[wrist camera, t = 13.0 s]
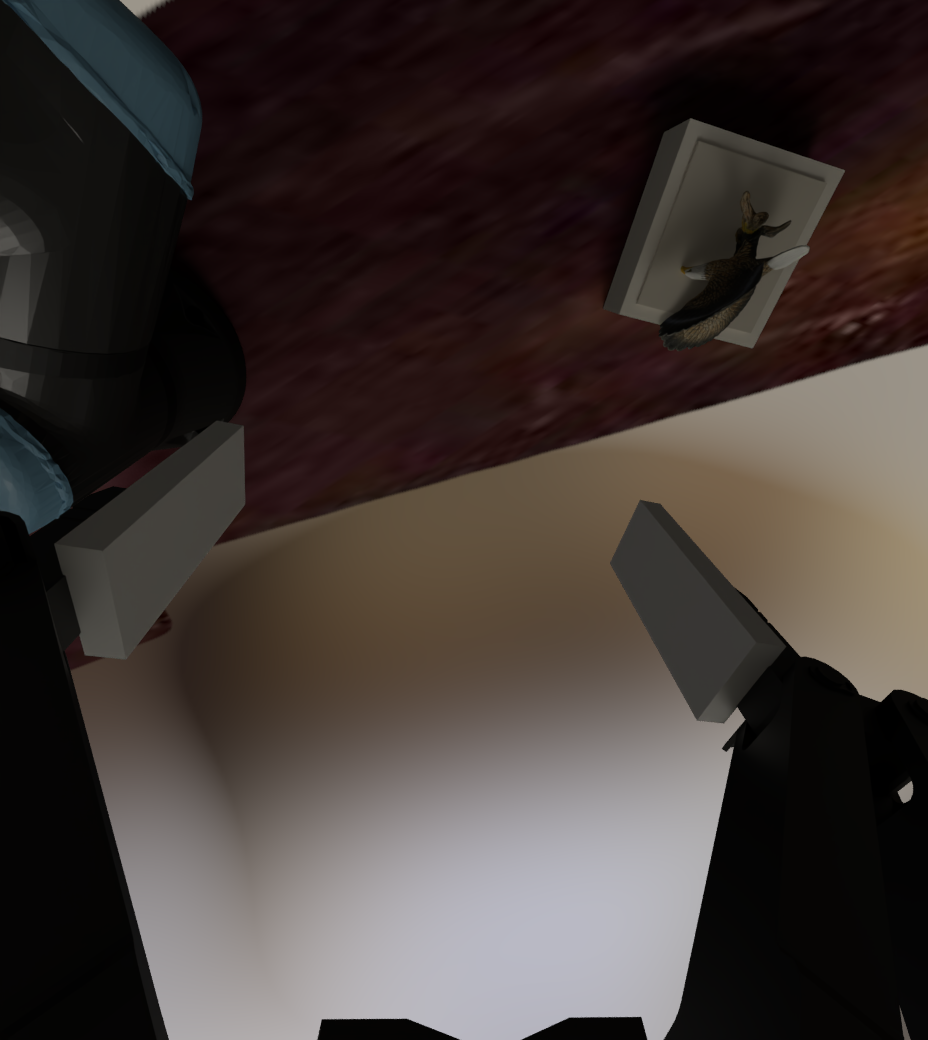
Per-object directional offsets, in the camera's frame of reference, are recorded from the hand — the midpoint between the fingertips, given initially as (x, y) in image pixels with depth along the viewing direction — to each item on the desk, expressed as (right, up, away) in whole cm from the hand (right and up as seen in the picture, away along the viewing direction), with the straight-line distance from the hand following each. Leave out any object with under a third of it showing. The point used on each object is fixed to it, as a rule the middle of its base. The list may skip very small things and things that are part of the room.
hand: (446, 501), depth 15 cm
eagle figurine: (+19, +17, +19) cm, 32 cm away
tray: (+20, +22, +22) cm, 36 cm away
